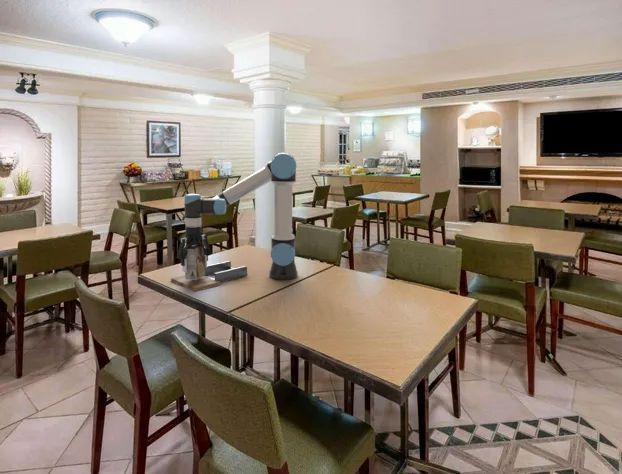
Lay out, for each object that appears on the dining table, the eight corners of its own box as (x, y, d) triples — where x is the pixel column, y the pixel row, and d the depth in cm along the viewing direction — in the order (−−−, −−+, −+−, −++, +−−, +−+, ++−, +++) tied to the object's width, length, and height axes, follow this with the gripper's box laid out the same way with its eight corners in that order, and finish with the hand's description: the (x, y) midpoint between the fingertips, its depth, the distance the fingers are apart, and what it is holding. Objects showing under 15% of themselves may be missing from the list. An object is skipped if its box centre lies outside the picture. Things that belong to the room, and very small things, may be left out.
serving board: (220, 284, 205) (220, 281, 204) (195, 291, 194) (195, 288, 194) (195, 275, 219) (195, 272, 219) (171, 281, 209) (170, 278, 208)
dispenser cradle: (247, 275, 222) (247, 266, 221) (216, 283, 207) (215, 273, 206) (229, 269, 231) (229, 260, 230) (199, 276, 217) (198, 267, 216)
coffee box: (193, 274, 211) (192, 243, 208) (205, 275, 210) (204, 244, 207) (184, 279, 202) (183, 247, 199) (197, 280, 201) (195, 248, 198)
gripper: (209, 222, 212) (210, 263, 216) (167, 227, 195) (169, 272, 199) (217, 224, 207) (219, 266, 211) (175, 230, 190) (178, 276, 194)
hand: (195, 269), depth 205 cm, fingers closed on coffee box, 11 cm apart
